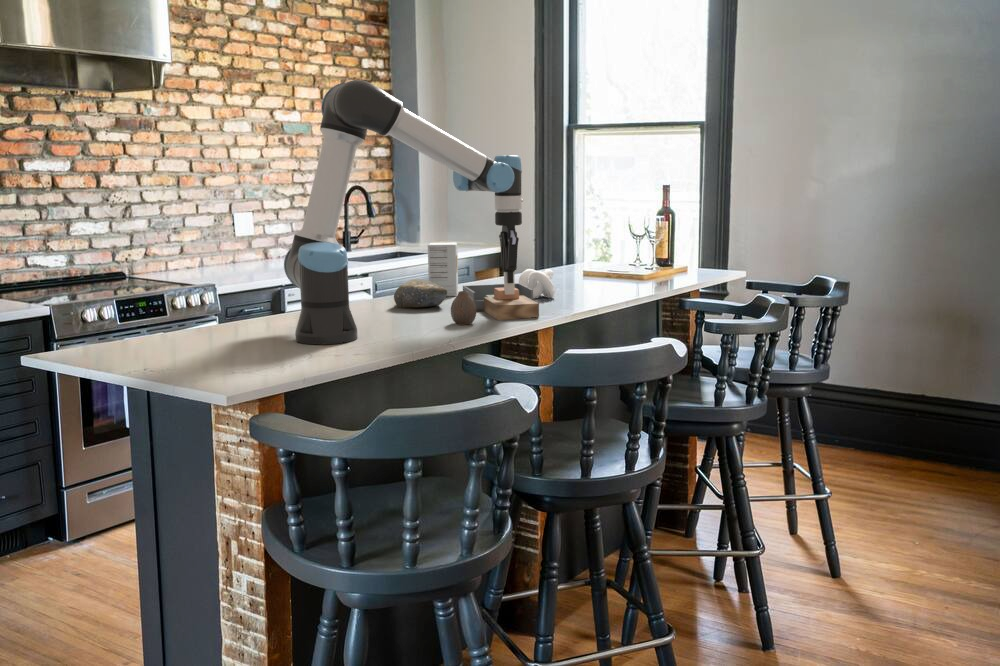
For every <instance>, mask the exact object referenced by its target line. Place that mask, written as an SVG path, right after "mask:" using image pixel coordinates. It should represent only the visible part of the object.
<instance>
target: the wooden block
mask: <svg viewBox="0 0 1000 666" xmlns="http://www.w3.org/2000/svg"><path fill="white" fill-rule="evenodd" d="M484 312H485V313H487V314H488V316H491V317H492V318H494V319H495V320H496V321H502V320H503V321H504V320H520V319H519V318H524V319H532V318H531V317H539V318H540V303H539V302H537V301H535V300H534V299H533V300H531V299H529V298H527V297H526V296H524V295H523V296H519V298H518V299H497V298H496V297H484Z"/></svg>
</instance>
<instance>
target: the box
mask: <svg viewBox="0 0 1000 666" xmlns="http://www.w3.org/2000/svg"><path fill="white" fill-rule="evenodd" d="M514 285H515V288H517V289H518V290H519V296H523V295H524V296H526V297H527V298H529V299H531V300H533V301H534V299H533V290H532V289H530V288H528V287H526V286H524V285H522V284H520V283H519V282H517V283H515V282H514ZM494 288H504V283H499V284H497V283H496V284H476V285H473V284H472V285H462V291H467V292H468V294H469V296H470V297H471V298H472V299H473V301H474V302H475V305H476V312H483V311H484V297H486V295H494ZM484 312H485V311H484Z"/></svg>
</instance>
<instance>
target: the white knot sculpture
mask: <svg viewBox="0 0 1000 666" xmlns="http://www.w3.org/2000/svg"><path fill="white" fill-rule="evenodd" d="M553 276H554V272H553V270H552V269H550V268H546V269H545V270H544V271H540V270H536V269H533V268H526V269H525V270H524V271H522V272H521V274H520V275H519V277H518V283H520V284H522V285H524V286H526V287H528V288H530V289H532V290H533V300H534V299H536V298H539V297H541V295H543V296H544V297H546V298H548V299H552V298H553V297H555V294H556V289H555V285H554V284H553V282H552V279H553Z"/></svg>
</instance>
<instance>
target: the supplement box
mask: <svg viewBox="0 0 1000 666" xmlns="http://www.w3.org/2000/svg"><path fill="white" fill-rule="evenodd" d="M458 252H459V251H458V242H455V241H454V242H450V241H449V242H430V243H429V244H427V265H428V267H427V268H428V271H427V272H428V281H429V282H432V283H434V284H437V285H439V286H441V287H443V288H445V289H446V290H447V295H446V297H456V296H457V295H458V292H459V265H458V263H459V262H458V261H459V260H458V257H459V255H458Z"/></svg>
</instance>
